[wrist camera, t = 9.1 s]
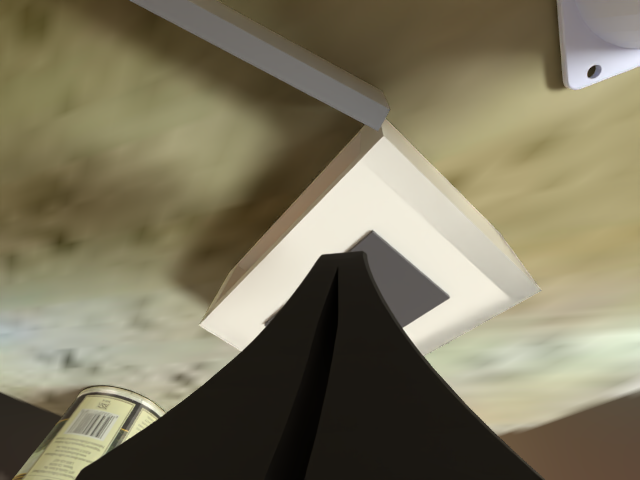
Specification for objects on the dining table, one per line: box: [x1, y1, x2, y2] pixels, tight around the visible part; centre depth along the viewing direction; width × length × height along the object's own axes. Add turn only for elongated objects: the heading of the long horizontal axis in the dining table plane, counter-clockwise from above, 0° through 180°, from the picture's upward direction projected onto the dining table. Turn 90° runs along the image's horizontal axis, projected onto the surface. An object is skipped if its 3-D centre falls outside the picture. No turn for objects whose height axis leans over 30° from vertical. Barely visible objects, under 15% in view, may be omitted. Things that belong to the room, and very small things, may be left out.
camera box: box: [199, 118, 542, 356], centre depth 18 cm, size 10×14×5 cm
